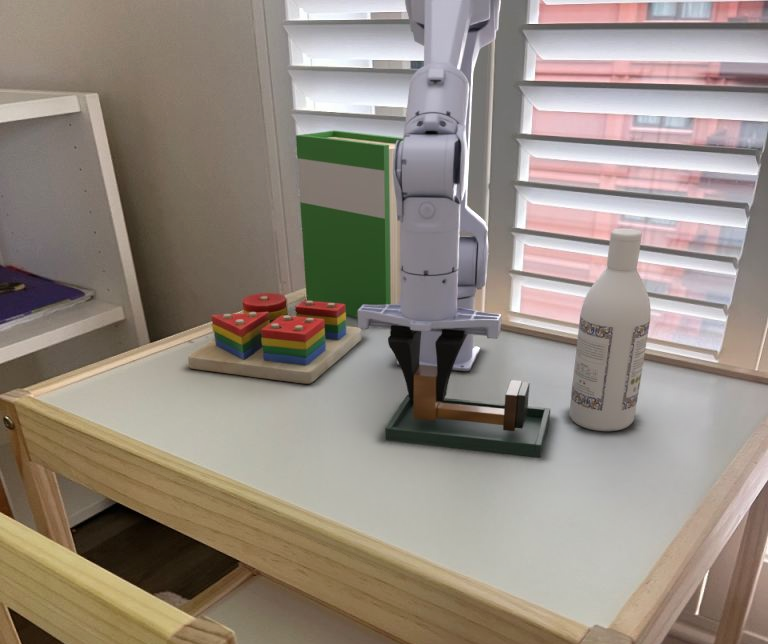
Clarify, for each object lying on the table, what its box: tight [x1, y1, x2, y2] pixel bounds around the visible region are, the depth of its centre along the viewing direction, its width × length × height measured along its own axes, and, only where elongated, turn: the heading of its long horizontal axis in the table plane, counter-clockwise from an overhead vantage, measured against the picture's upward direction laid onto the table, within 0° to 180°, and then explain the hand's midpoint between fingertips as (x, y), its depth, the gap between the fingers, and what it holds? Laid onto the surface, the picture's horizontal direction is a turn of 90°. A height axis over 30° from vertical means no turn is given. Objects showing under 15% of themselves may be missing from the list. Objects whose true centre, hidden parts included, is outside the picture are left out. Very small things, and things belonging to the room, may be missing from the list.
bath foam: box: [569, 227, 652, 432], centre depth 83 cm, size 7×7×20 cm
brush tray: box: [384, 393, 551, 458], centre depth 86 cm, size 16×9×1 cm, turn 74°
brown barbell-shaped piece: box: [414, 365, 531, 431], centre depth 84 cm, size 12×4×5 cm, turn 74°
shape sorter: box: [187, 292, 362, 385], centre depth 106 cm, size 18×17×6 cm
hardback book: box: [295, 130, 403, 319], centre depth 117 cm, size 18×7×24 cm, turn 45°
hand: (427, 396), depth 86 cm, fingers closed on brown barbell-shaped piece, 2 cm apart
